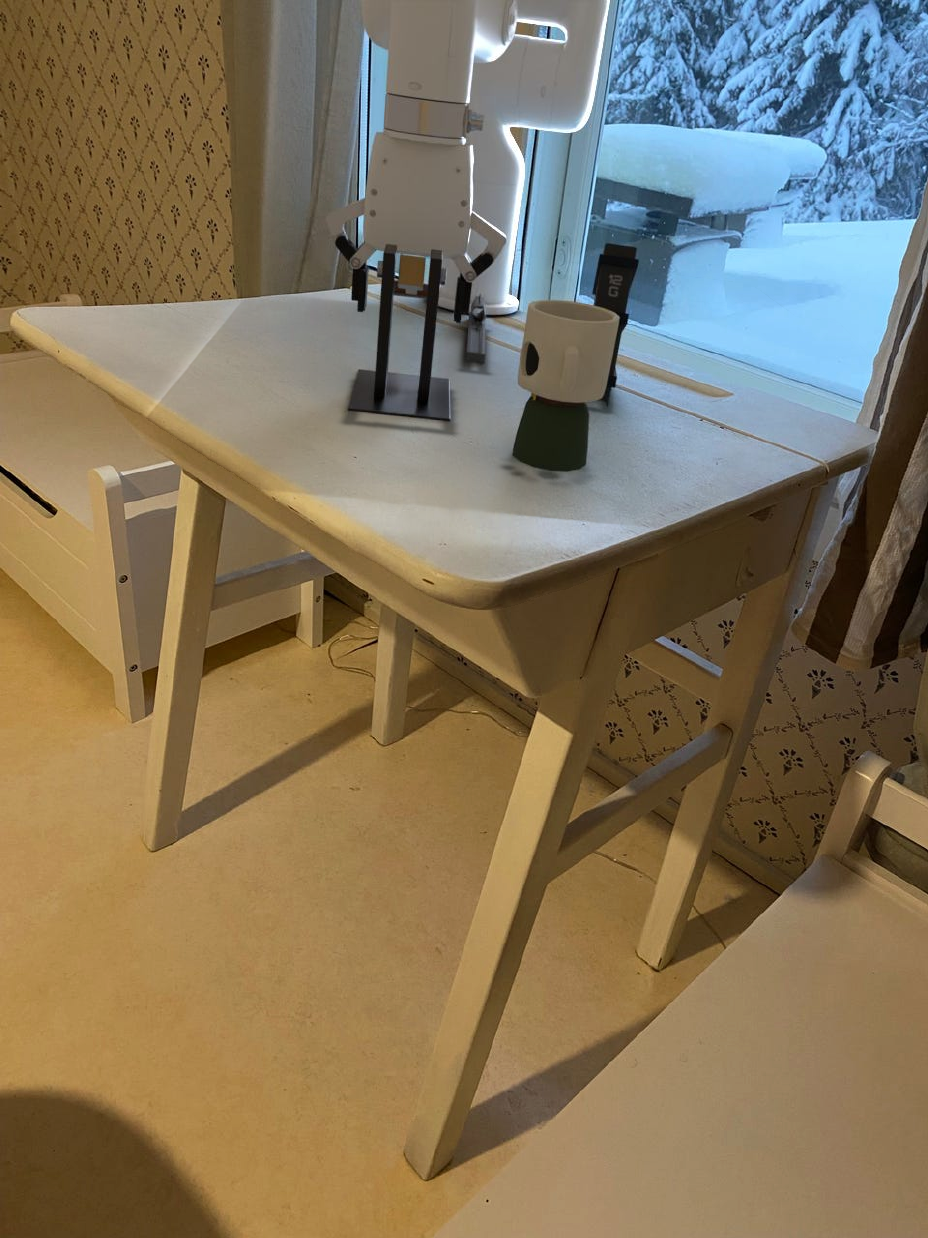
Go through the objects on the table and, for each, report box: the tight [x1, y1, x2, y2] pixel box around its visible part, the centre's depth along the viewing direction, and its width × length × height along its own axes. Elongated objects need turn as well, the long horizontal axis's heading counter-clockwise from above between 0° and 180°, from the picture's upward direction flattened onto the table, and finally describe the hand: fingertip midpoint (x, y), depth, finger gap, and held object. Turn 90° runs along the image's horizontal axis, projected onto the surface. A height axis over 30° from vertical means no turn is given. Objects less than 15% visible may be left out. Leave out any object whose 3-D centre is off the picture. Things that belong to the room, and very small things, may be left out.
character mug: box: [512, 299, 620, 473], centre depth 75 cm, size 11×7×13 cm, turn 177°
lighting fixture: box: [465, 294, 487, 364], centre depth 107 cm, size 19×3×4 cm, turn 179°
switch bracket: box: [347, 244, 451, 422], centre depth 84 cm, size 12×9×14 cm
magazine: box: [591, 242, 640, 408], centre depth 95 cm, size 4×13×15 cm, turn 172°
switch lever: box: [394, 254, 440, 300], centre depth 86 cm, size 13×6×2 cm, turn 1°
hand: (409, 314), depth 93 cm, fingers open, 9 cm apart
